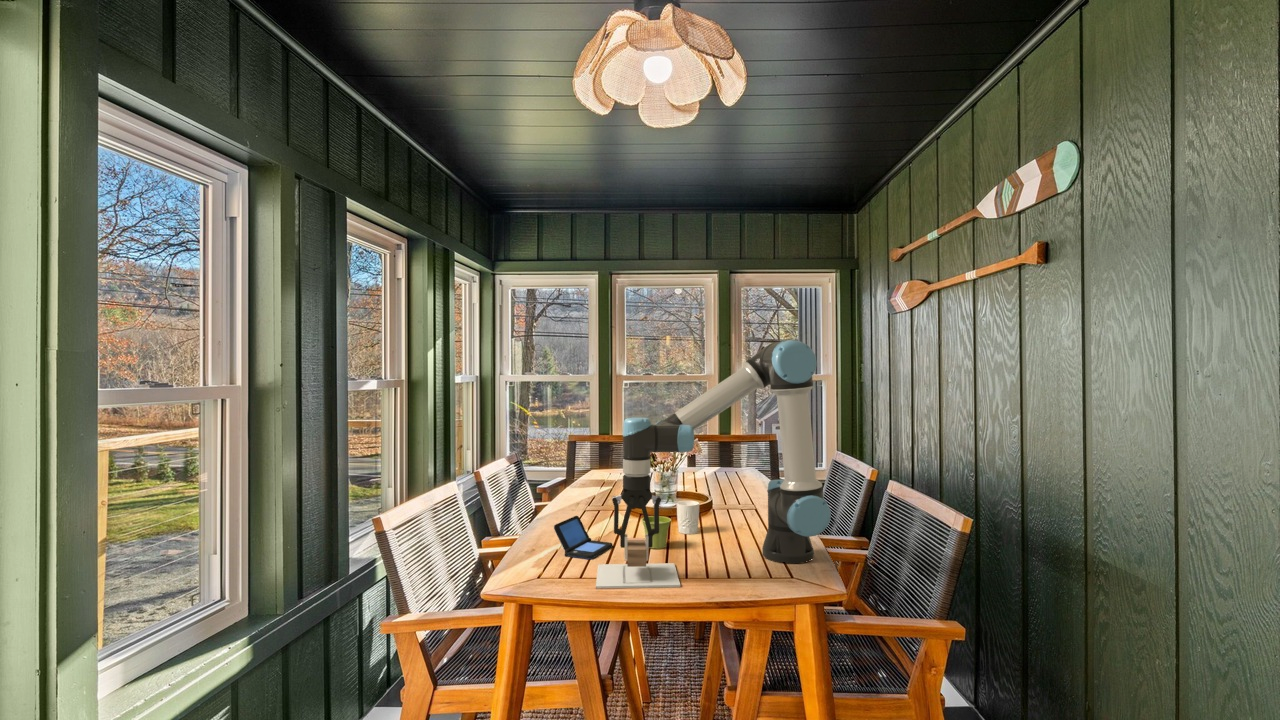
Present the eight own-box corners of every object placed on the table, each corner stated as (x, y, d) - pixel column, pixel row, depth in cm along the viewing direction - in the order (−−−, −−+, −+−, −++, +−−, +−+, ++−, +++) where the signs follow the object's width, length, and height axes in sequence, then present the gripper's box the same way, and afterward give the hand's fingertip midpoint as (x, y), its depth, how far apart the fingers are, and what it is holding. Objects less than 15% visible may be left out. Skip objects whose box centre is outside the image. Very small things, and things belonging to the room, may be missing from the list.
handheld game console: (591, 561, 190) (590, 529, 190) (552, 555, 195) (552, 525, 195) (614, 546, 204) (613, 517, 204) (577, 542, 209) (577, 514, 209)
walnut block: (646, 566, 170) (646, 549, 170) (627, 566, 169) (627, 549, 169) (644, 553, 181) (644, 538, 181) (626, 553, 180) (627, 537, 180)
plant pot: (660, 540, 210) (660, 514, 210) (677, 547, 202) (676, 520, 202) (636, 545, 205) (636, 518, 205) (652, 552, 197) (652, 524, 197)
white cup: (672, 530, 222) (672, 502, 222) (691, 527, 226) (691, 499, 226) (684, 536, 215) (684, 506, 215) (704, 533, 219) (703, 503, 219)
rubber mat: (674, 565, 184) (674, 563, 184) (680, 587, 166) (680, 584, 166) (597, 566, 184) (597, 564, 184) (595, 588, 166) (595, 586, 166)
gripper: (668, 471, 179) (668, 554, 179) (603, 472, 178) (603, 555, 178) (670, 476, 172) (670, 563, 171) (603, 476, 171) (603, 563, 171)
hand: (636, 559), depth 175 cm, fingers closed on walnut block, 5 cm apart
